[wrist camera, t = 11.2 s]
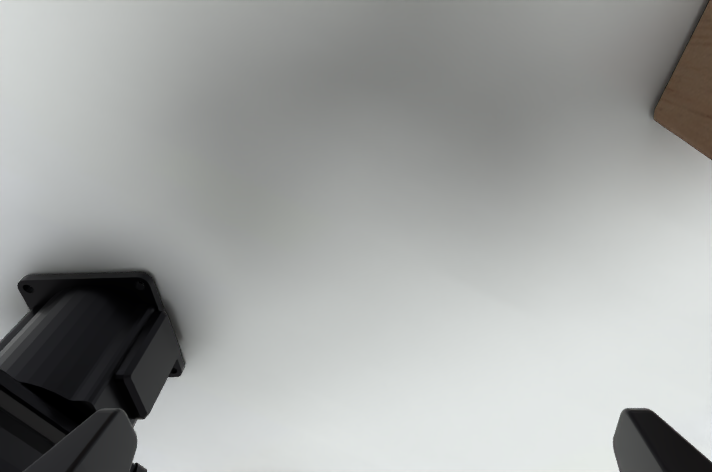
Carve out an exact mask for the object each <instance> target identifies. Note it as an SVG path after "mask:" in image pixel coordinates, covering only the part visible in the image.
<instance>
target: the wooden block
mask: <svg viewBox="0 0 712 472" xmlns="http://www.w3.org/2000/svg"><path fill="white" fill-rule="evenodd" d="M654 120H655V121H656V122H658V123H659V124H660V125H662V126H663V127H665V128H666V129H668V130H669V131H671V132H672V133H674V134H675V135H677V136H678V137H679V138H681V139H682V140H684V141H685V142H687V143H688V144H690V145H691V146H692V147H694V148H695V149H697V150H698V151H700V152H701V153H702V154H704V155H705V156H707V157H708V158H710V159H711V160H712V0H710V1H709V3H708V5H707V7H706V9H705V11H704V13H703V15H702V17H701V19H700V21H699V23H698V25H697V27H696V29H695V31H694V32H693V34H692V36H691V38H690V40H689V42H688V44H687V46H686V48H685V50H684V52H683V54H682V56H681V58H680V60H679V62H678V64H677V66H676V68H675V70H674V72H673V74H672V76H671V78H670V80H669V82H668V84H667V86H666V88H665V90H664V92H663V94H662V96H661V98H660V100H659V102H658V104H657V106H656V108H655V111H654Z"/></svg>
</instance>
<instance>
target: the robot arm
mask: <svg viewBox="0 0 712 472" xmlns="http://www.w3.org/2000/svg"><path fill="white" fill-rule="evenodd" d="M138 281H139V282H142V283H143V284H144V285H142V284H140V283H139V282H138ZM17 286H18V289H19V291H20V293H21V295H22V296H23V298H24V300H25V302H26V304H27V305H28V307H29V309H30V311H29V312H28V313H27V314H26V315H25V316H24V317H23V318H22V319H21V321H20V322H19V323H18V324H17V325H16V326H15V327H14V328H13V329H12V330H11V331H10V332H9V333H8V334H7V335H6V336H5V337H4V338H3V339H2V340H1V341H0V472H147V469H145V468H144V467H143V466H141V465H140V464H138V463H135V464H134V463H133V458H134V455H135V451H136V448H137V435H136V433H135V431H134V429H133V427H134V425H135V423H136V421H137V419H145V418H146V417H147V416H148V415H149V413H150V411H151V409H152V407H153V405H154V403H155V401H156V399H157V397H158V395H159V394H160V392H161V390H162V388H163V386H164V384H165V382H166V380H167V378H168V377H178V376H180V375H181V374H182V372H183V370H184V368H185V364H184V362H183V359H182V356H181V354H180V352H181V350H180V347H179V344H178V341H177V339H176V336H175V333H174V331H173V328H172V325H171V322H170V320H169V317H168V315H167V314H166V312H165V310H164V307H163V305H162V302H161V299H160V297H159V294H158V291H157V289H156V286H155V283H154V280H153V279H152V277H151V276H150V275H148V274H146V273H144V272H120V273H87V274H53V275H28V276H25V277H24V278H23V279H22V280H21V281H20V282H19V283H18V285H17ZM31 286H32V287H31ZM613 448H614V453H615V457H616V460H617V464H618V467H619V471H620V472H712V462H711V461H710V460H709V459H708V458H706V457H705V456H704V455H703V454H702V453H701V452H699V451H698V450H697V449H696V448H695V447H694V446H693V445H691V444H690V443H689V442H688V441H687V440H686V439H685V438H683V437H682V436H681V435H680V434H679V433H678V432H677V431H675V430H674V429H673V428H672V427H671V426H670V425H668V424H667V423H666V422H665V421H664V420H663V419H662V418H660V417H659V416H658V415H657V414H656V413H655V412H653V411H652V410H650V409H646V408H626V409H624V410H623V411H622V412H621V415H620V418H619V421H618V424H617V427H616V431H615V434H614V437H613Z"/></svg>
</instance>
